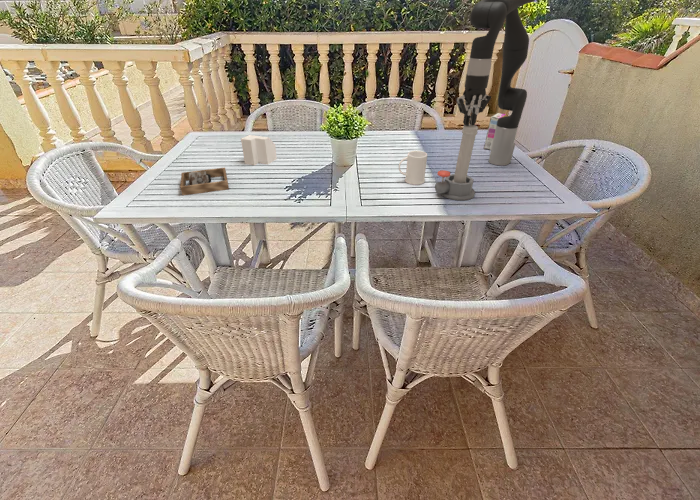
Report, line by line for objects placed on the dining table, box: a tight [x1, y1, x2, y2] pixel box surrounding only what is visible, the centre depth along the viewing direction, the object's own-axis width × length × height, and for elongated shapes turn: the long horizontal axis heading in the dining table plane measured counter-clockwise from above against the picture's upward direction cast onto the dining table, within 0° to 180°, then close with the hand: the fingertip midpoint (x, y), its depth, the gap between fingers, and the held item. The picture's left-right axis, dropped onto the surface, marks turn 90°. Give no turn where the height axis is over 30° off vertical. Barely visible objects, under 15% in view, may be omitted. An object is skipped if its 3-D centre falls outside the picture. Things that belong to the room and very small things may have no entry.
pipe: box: [452, 115, 479, 184], centre depth 139 cm, size 6×6×30 cm
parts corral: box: [179, 167, 230, 196], centre depth 155 cm, size 18×16×4 cm
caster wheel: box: [188, 171, 212, 185], centre depth 155 cm, size 7×11×10 cm
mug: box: [398, 150, 428, 186], centre depth 156 cm, size 12×8×12 cm
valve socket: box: [434, 169, 476, 202], centre depth 146 cm, size 17×14×10 cm
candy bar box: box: [483, 112, 507, 151], centre depth 191 cm, size 11×5×16 cm, turn 144°
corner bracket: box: [240, 134, 278, 166], centre depth 175 cm, size 11×11×12 cm
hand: (468, 124), depth 134 cm, fingers closed on pipe, 2 cm apart
